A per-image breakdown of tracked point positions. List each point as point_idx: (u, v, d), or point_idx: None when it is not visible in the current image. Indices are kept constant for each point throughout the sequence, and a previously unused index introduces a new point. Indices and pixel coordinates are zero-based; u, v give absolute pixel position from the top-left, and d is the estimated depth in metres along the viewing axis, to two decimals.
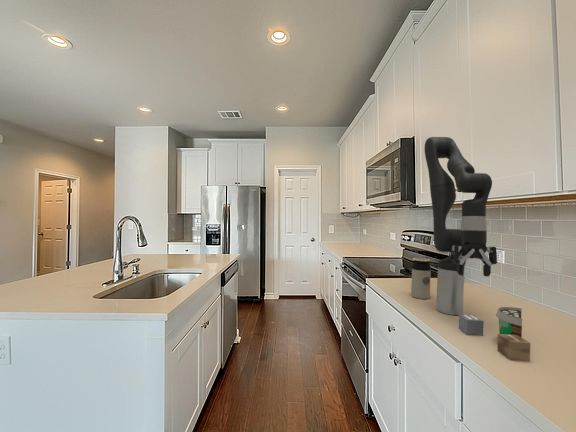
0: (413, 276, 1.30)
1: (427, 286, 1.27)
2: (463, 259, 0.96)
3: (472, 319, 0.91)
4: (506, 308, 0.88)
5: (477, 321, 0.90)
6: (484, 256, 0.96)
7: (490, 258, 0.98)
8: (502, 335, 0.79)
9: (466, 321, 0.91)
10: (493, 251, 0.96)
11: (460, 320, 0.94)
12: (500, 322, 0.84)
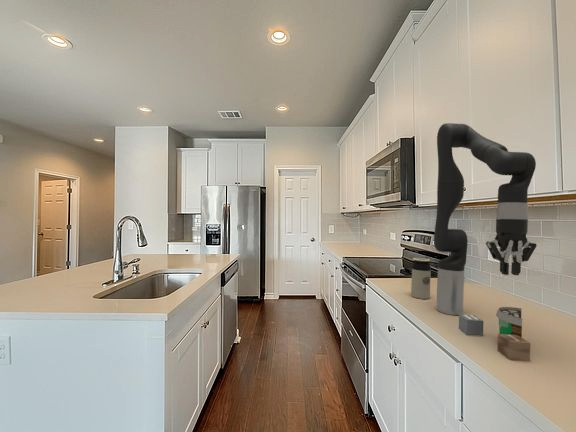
0: (413, 276, 1.30)
1: (427, 286, 1.27)
2: (506, 256, 0.83)
3: (472, 319, 0.91)
4: (506, 308, 0.88)
5: (477, 321, 0.90)
6: (519, 250, 0.83)
7: (522, 254, 0.85)
8: (502, 335, 0.79)
9: (466, 321, 0.91)
10: (531, 247, 0.83)
11: (460, 320, 0.94)
12: (500, 322, 0.84)
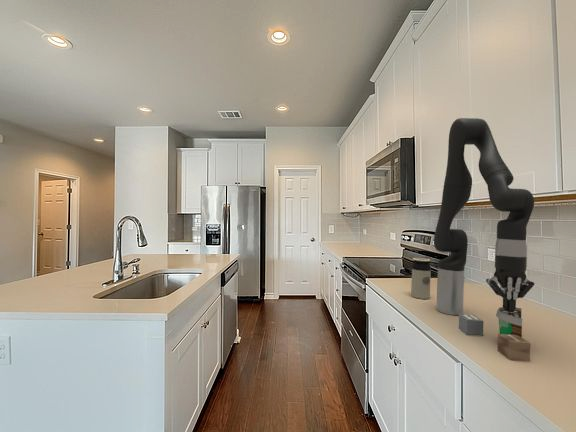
0: (413, 276, 1.30)
1: (427, 286, 1.27)
2: (508, 292, 0.83)
3: (472, 319, 0.91)
4: None
5: (477, 321, 0.90)
6: (517, 287, 0.83)
7: None
8: (502, 335, 0.79)
9: (466, 321, 0.91)
10: (528, 285, 0.83)
11: (460, 320, 0.94)
12: (500, 322, 0.84)
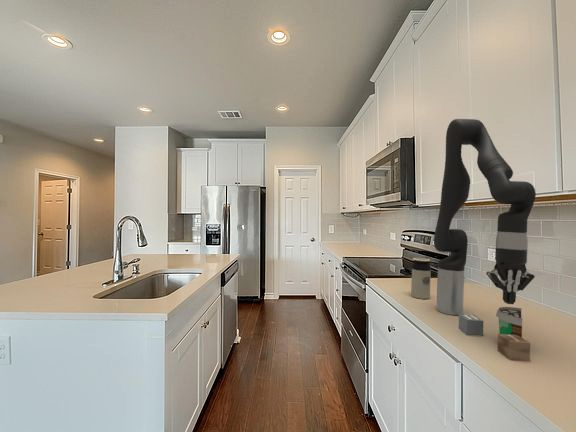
0: (413, 276, 1.30)
1: (427, 286, 1.27)
2: (508, 285, 0.83)
3: (472, 319, 0.91)
4: (506, 308, 0.88)
5: (477, 321, 0.90)
6: (517, 279, 0.83)
7: None
8: (502, 335, 0.79)
9: (465, 321, 0.91)
10: (529, 278, 0.83)
11: (460, 320, 0.94)
12: (500, 322, 0.84)
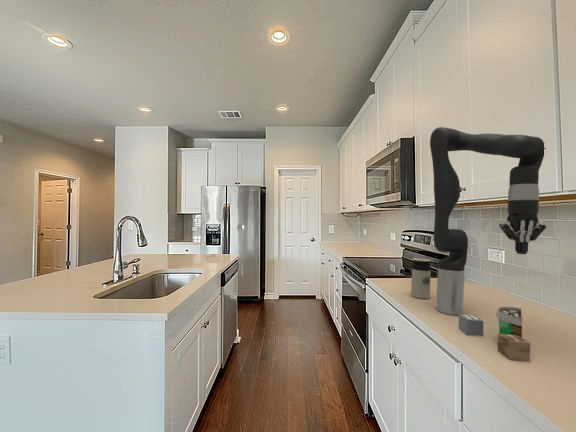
0: (413, 276, 1.30)
1: (427, 286, 1.27)
2: (521, 235, 0.87)
3: (472, 319, 0.91)
4: (506, 308, 0.88)
5: (477, 321, 0.90)
6: (529, 230, 0.86)
7: (530, 234, 0.88)
8: (502, 335, 0.79)
9: (465, 321, 0.91)
10: (540, 228, 0.86)
11: (460, 320, 0.94)
12: (500, 322, 0.84)
